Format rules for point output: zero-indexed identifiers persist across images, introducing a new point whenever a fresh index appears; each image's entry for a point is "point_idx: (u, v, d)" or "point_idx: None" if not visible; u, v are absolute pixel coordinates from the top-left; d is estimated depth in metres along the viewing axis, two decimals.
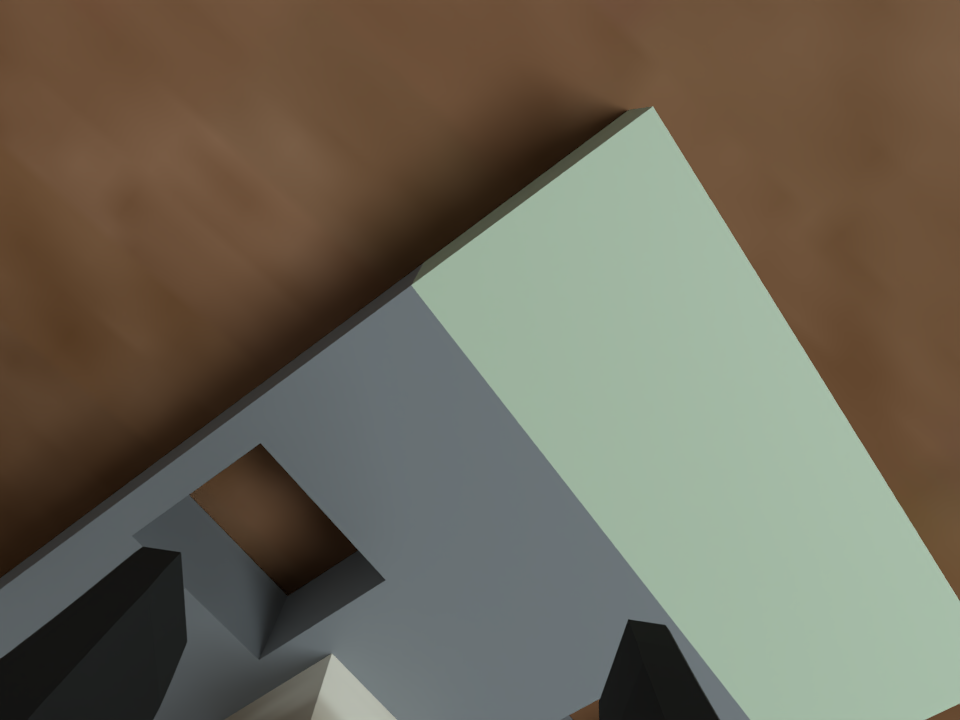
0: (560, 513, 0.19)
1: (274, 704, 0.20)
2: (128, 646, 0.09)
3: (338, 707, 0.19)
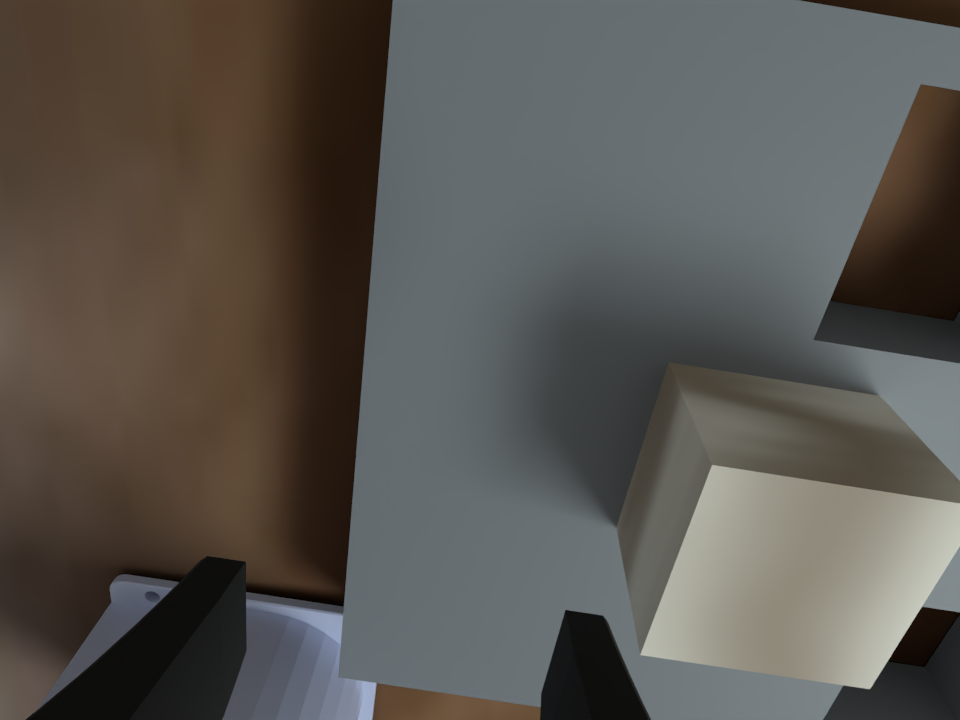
0: None
1: (809, 400, 0.15)
2: (201, 657, 0.09)
3: None
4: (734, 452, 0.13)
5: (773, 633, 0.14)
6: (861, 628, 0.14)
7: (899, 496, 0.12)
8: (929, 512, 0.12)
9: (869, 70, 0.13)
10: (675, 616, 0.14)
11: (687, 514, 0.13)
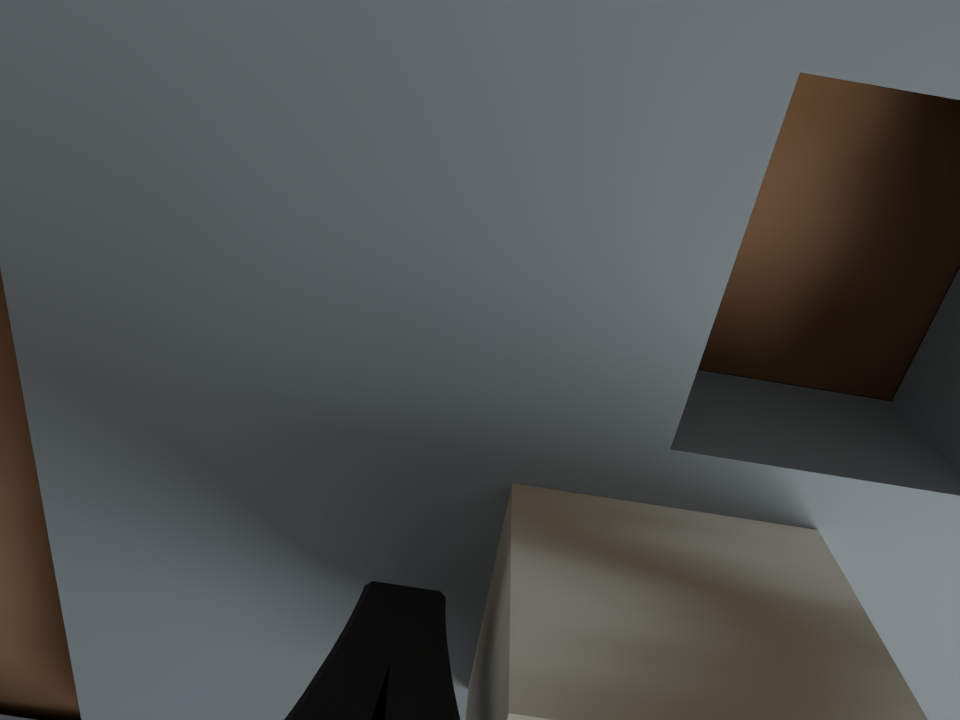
0: None
1: (709, 547, 0.10)
2: None
3: None
4: (556, 676, 0.08)
5: None
6: None
7: None
8: None
9: (716, 49, 0.08)
10: None
11: None
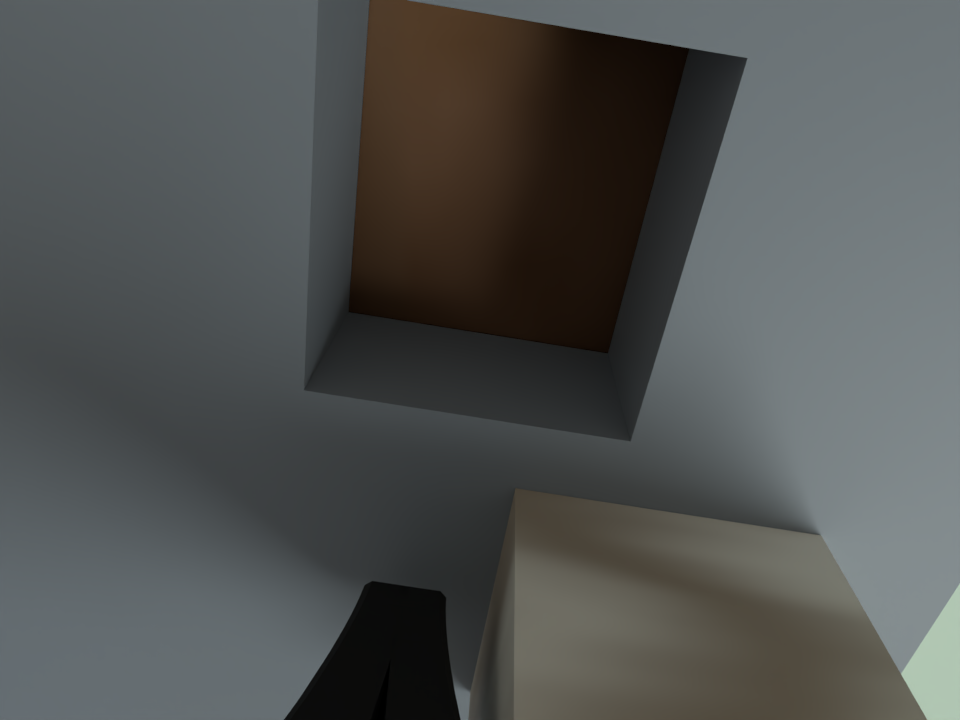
0: (939, 549, 0.11)
1: (713, 552, 0.10)
2: (388, 684, 0.09)
3: None
4: (562, 684, 0.08)
5: None
6: None
7: None
8: None
9: None
10: None
11: None
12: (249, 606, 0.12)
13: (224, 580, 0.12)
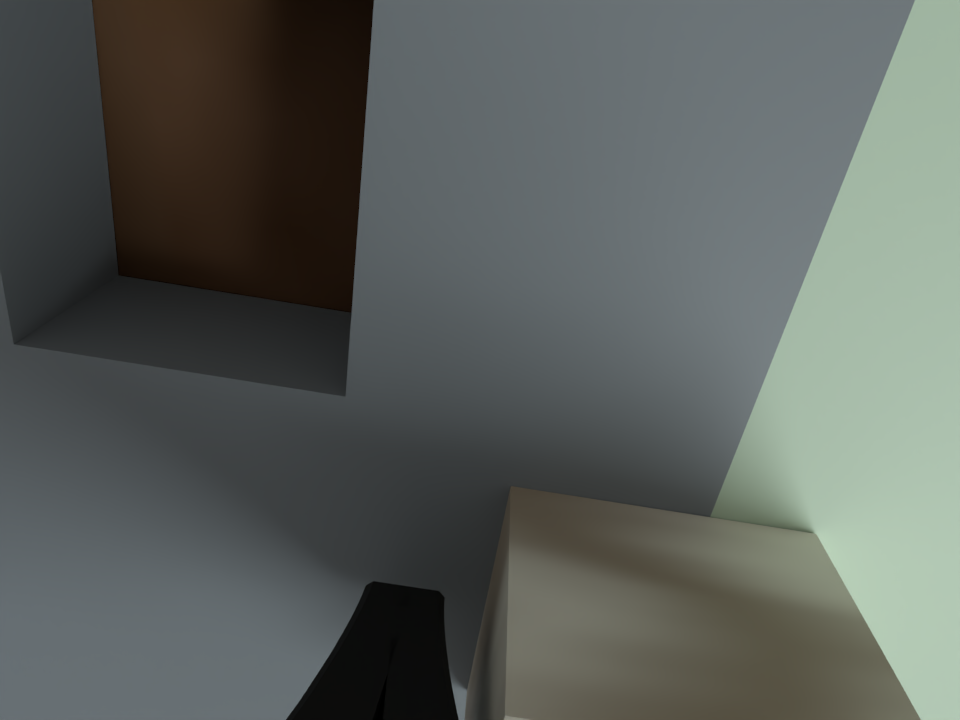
0: (671, 507, 0.11)
1: (707, 551, 0.10)
2: None
3: None
4: (553, 679, 0.08)
5: None
6: None
7: None
8: None
9: None
10: None
11: None
12: (8, 569, 0.12)
13: None
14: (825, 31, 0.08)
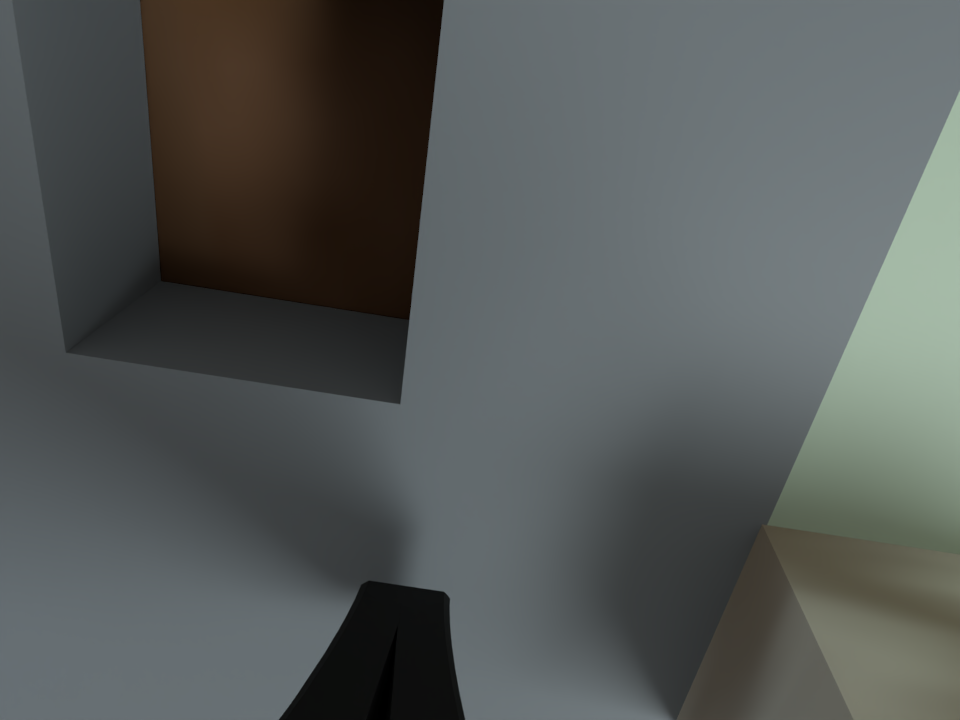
0: (728, 515, 0.11)
1: None
2: (384, 684, 0.09)
3: None
4: None
5: None
6: None
7: None
8: None
9: None
10: None
11: None
12: (54, 578, 0.12)
13: (24, 551, 0.12)
14: (906, 32, 0.08)
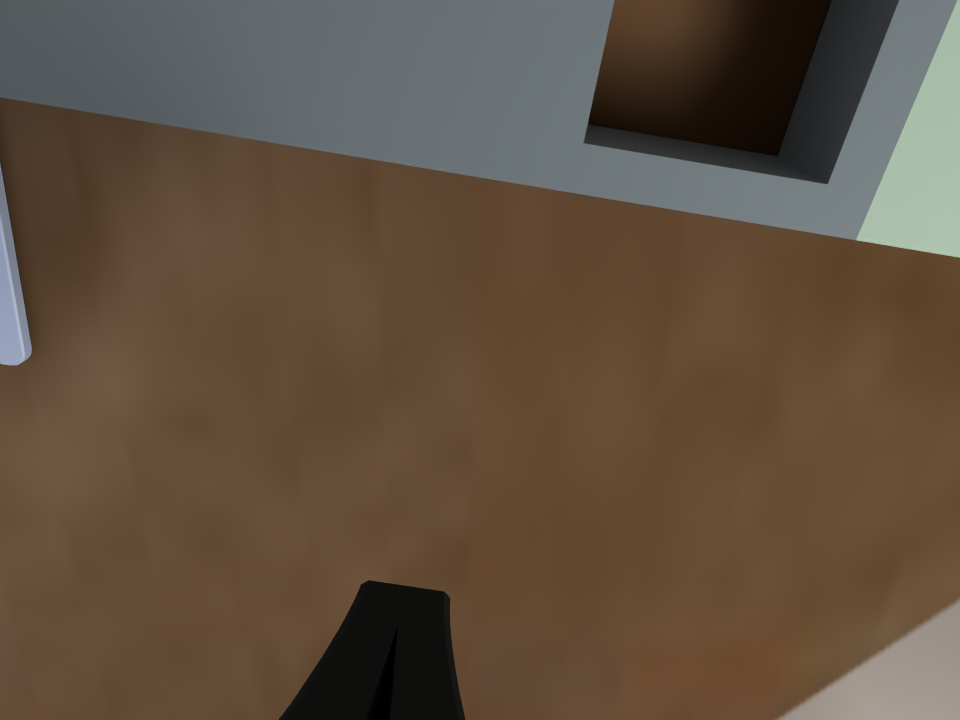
0: None
1: None
2: (384, 683, 0.09)
3: None
4: None
5: None
6: None
7: None
8: None
9: None
10: None
11: None
12: None
13: None
14: None
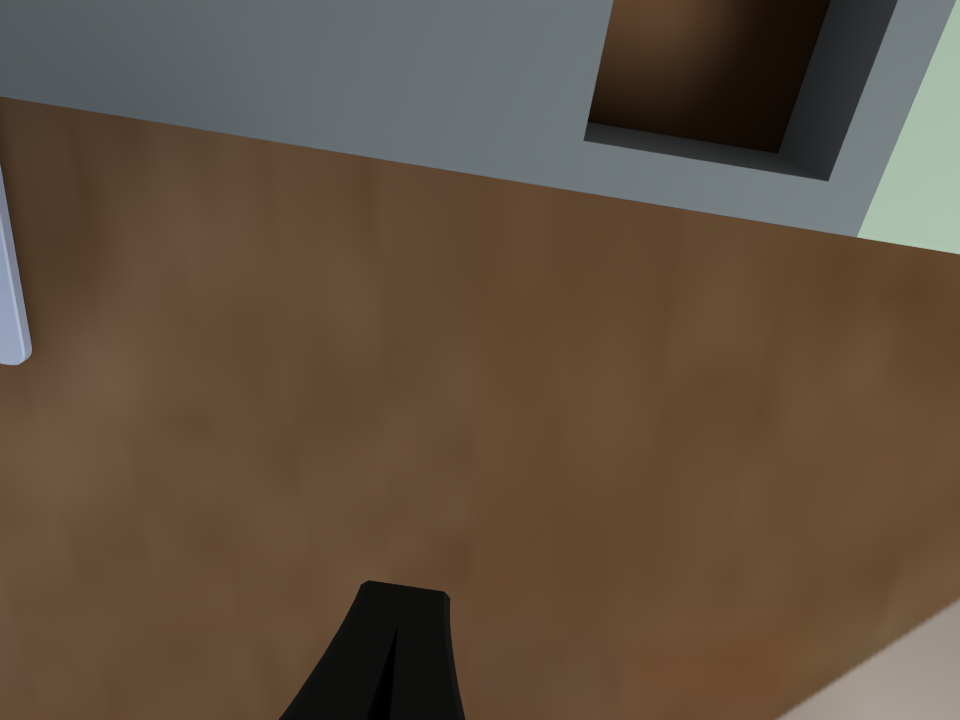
0: None
1: None
2: (384, 684, 0.09)
3: None
4: None
5: None
6: None
7: None
8: None
9: None
10: None
11: None
12: None
13: None
14: None
